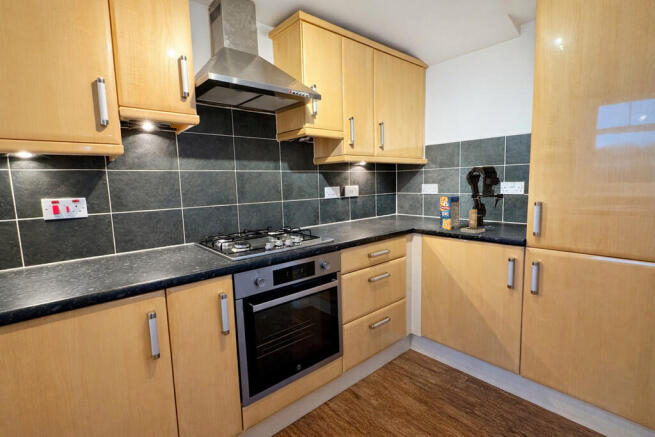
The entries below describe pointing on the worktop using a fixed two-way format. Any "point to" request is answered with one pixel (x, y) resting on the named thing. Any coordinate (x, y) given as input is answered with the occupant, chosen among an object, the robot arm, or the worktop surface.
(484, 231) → the hole plate
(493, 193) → the robot arm
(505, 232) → the worktop surface
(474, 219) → the maple peg
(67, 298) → the worktop surface
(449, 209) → the blue yellow food box
